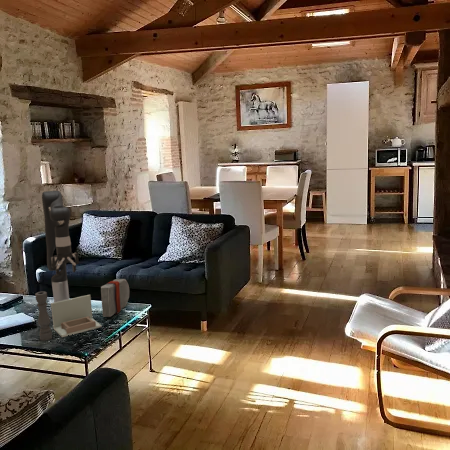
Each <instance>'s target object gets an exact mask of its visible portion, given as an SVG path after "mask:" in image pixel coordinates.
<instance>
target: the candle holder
mask: <svg viewBox="0 0 450 450" xmlns="http://www.w3.org/2000/svg"><path fill="white" fill-rule="evenodd" d="M34 295H35V301H36V302H37V305H36V306H37V308H38V320H37V323H38V325H39V327H40V328H39V340H40V341H48V340H51V339H52V338H53V333H52V330H51V329H52V328H51V327H50V324H51V319H50V315H49V313H48V309H47V306H48V303H47V300H48V292H47V291H38V292H36V293H35V294H34Z"/></svg>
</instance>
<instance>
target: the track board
mask: <svg viewBox="0 0 450 450" xmlns="http://www.w3.org/2000/svg"><path fill="white" fill-rule="evenodd" d="M50 308H51V315H52V325H53V330H54V331H56V333H57V334H58V335H59V336H60V337H61V338H65V337H69V336H72V334H73V335H76V334H80V333H85V332H87V331H92V330H95V329H99V328H102V324H100V323H99V322H98V321H96V320H95V319H94V318H93V309H92V308H93V307H92V297H91V294H87V295H81V296H77V297H73V298H69V299H68V300H63V301H59V302H54V301H53V302H51V303H50ZM68 335H69V336H68Z"/></svg>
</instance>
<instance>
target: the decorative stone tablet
mask: <svg viewBox="0 0 450 450" xmlns="http://www.w3.org/2000/svg"><path fill="white" fill-rule="evenodd" d="M100 294H101V312H102V317H105V318H111V317H112V316H114V314H115V316H116V315H118V314H119V313H120V312H121V311H122V310H123V309H124V308H125V307H126V306H127V304H128V301H129V298H130V287H129V283H128V281H127V280H126V278H116V279H113V280H111V281H109V282H107V283H106V284H104V285H101V286H100Z"/></svg>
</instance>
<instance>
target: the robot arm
mask: <svg viewBox="0 0 450 450" xmlns="http://www.w3.org/2000/svg"><path fill="white" fill-rule="evenodd" d="M41 200H42V201H41V202H42V203H41V204H42V208H43V217H44V232H45V233H44V234H45V235H44V236H45V242H46V243H45V244H46V264H47V265H46V266H47V268H48V269H47V270H48V271H50V272H54V271H55V274H54V275H52V276H51V278H50V280H51V287H52V294H53V295H52V296H53V297H52V298H53V303H54V302H59V301H63V300H68V299H70V294H69V293H70V292H69V291H70V290H69V284H68V283H69V282H68V274H67V273H68V272H67V264H68V263H70V264H72V265H71V267H72V272H73V273H76V271H77V265H78V264H79V263H80V261H79V260H80V259H79V255H78V252H74V253H73V252H72V242H71V237H70V230H69V225H70V220H71V214H72V212H71V210H70V208H69V207H67V206H64V200H63V195H62V192H61V191H60V190H49V191H43V192H42V194H41ZM62 221H63V223H60V222H62ZM55 249H56V255H54V253H55V252H54V251H55ZM72 258H74V260H73V259H72Z"/></svg>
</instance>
